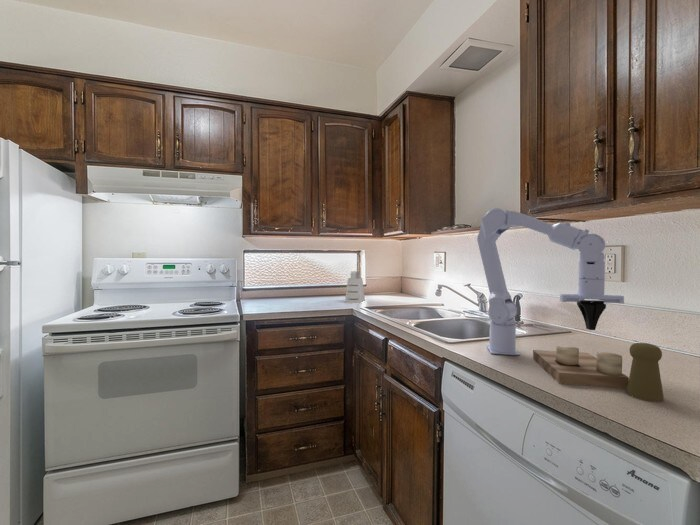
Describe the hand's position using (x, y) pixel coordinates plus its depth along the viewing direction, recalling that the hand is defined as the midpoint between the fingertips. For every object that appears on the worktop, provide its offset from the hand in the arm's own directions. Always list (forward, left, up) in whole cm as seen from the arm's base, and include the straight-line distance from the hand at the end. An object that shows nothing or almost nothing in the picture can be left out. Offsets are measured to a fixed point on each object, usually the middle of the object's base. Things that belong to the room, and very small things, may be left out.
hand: (590, 329), depth 93 cm
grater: (-114, -88, -10) cm, 144 cm away
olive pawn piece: (+20, +2, -10) cm, 22 cm away
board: (+6, -6, -10) cm, 13 cm away
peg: (+8, -8, -10) cm, 15 cm away
